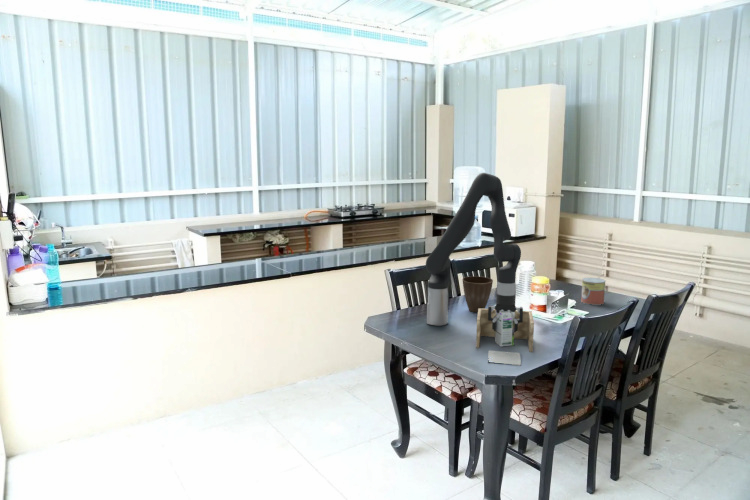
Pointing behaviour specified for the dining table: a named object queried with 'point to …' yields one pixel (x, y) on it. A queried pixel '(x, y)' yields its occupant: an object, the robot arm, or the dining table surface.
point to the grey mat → (505, 357)
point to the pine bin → (523, 332)
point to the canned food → (593, 291)
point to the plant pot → (477, 292)
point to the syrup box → (505, 329)
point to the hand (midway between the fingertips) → (504, 331)
